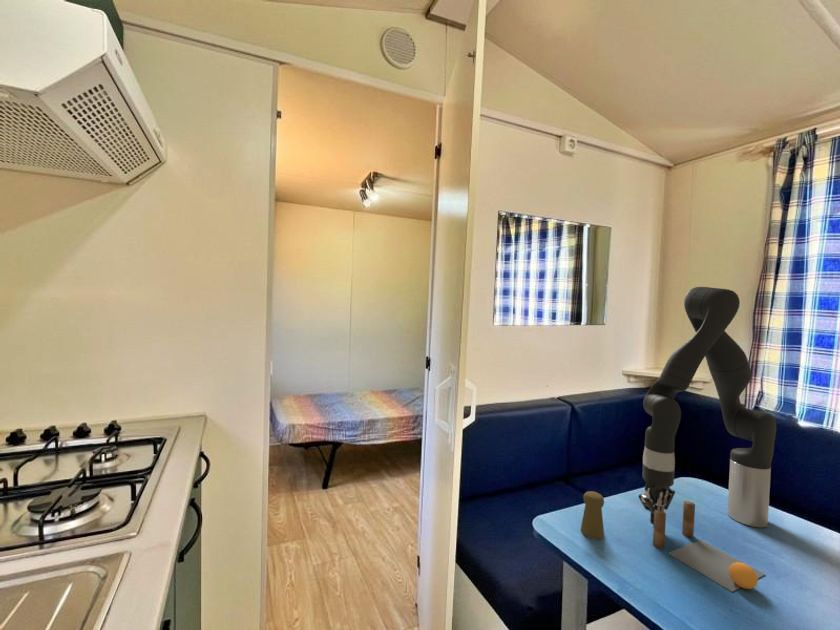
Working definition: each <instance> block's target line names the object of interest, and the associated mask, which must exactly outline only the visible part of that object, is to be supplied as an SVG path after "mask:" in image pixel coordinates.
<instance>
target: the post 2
mask: <svg viewBox="0 0 840 630" xmlns="http://www.w3.org/2000/svg"><path fill="white" fill-rule="evenodd" d="M682 505H683V507H682V509H683V510H682V526H681V527H682V528H681V534H682V535H683V536H684V537H687V538H689V539H693V538H694V535H695V534H694V532H695V517H696V516H695V514H696V513H695V512H696V511H695V510H696V504H695V503H694V502H692V501H690V500H683V504H682Z"/></svg>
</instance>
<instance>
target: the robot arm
mask: <svg viewBox="0 0 840 630" xmlns="http://www.w3.org/2000/svg"><path fill="white" fill-rule="evenodd" d="M683 301H684V304H683V305H684V310H685V313H686V315H687V318H688V319H689V321H690V324H691V325H692V327H693V330H694V331H695V334H693V336H691V337H690V338H689V339H688V340H686V342H684V343H683V344H681V345H680V346H679V347H677V348H676V349H675V350H674V351H673V352H672V353H671V354H670V356H669V358H668V359H667V362H666V363H665V365H664V367H663V368H662V371H661V374H660V376H659V377H658V378H657V379H656V381H655V382H654V383H653V384H652V385H651V386H650V388H649V389H648V391H647V392H646V393H645V395H644V397H643V401H642V406H643V409H644V411H645V412H646V413H647V414H648V415H650V416H651V417H652V421H651V426H648V427H647V428H646V429H645V434H644V435H645V436H644V449H643V453H642V454H643V455H642V474H641V475H642V476H641V477H642V478H643V480H644V481H645V486H644V493H643V494H641V493H640V494H639V495H638V499H639V501H640V502H641V504H642V506H643V509H644V510H646V511H647V512H650V518H649V519H650V520H649V521H650V524H651V525H653V526H654V510H661V511H663V512H665V510H666V511H667V510H668V509H669V507H670V504H671V502H672V500H673V498H674V496H675V494H676V490H674V489H672V488H670V487H672V486H674V482H675V467H676V466H675V464H676V461H675V460H676V458H675V443H676V441H675V437H676V434H677V432H678V429H679V425H680V422H681V419H682V409H681V407H680V405H679V403H678V402H677V401H676V400H675V399H674V398H675V397H676V396H677V395H678V393H681V392H686V391H687V390H688V388H689V386H690V385H691V383H692V380H693V379H694V377H695V375H696V373H697V371H698V369H699V367H700V364H701V363H702V362H703V360H704V359H705V360H706V363H707V367H708V370H709V373H710V376H711V378H712V381H713V383H714V387H715V389H716V393H717V395H718V399H719V403H720V408H721V413H722V418H723V423H724V425H725V428H726V430H727V432H728V433H729V434H730V435H731V436H734V437H736V438H740V439H744V440H747V441H750V442H752V445H751V447H737V448H732V449H731V450H730V453H729V455H730V456H729V474H728V475H729V476H728V478H729V479H728V495H727V497H728V499H727V515H728V516H729V517H730V518H731V519H733V520H734V521H736V522H739V523H740V524H743V525H745V526H749V527H753V528H766V527H768V525H769V509H770V507H769V506H770V505H769V504H770V492H771V491H770V489H771V472H772V470H771V469H772V461H773V457H774V452H775V451H774V450H775V441H776V434H777V422H776V419H775V417H774V416H773V415H772V414H770V413H768V412H764V411H759V410H756V409H751V408H746V407H744V406H743V405H742V403H741V399H740V397H741V394H742V393H743V392H744V390H746V388H747V387H748V386H749V383H750V382H751V381H752V374H753V373H752V370H751V366H750V364H749V360H748V357H747V355H746V353H745V351H744V350H743V349H742V348H741V346H740V345H739V344H738V343H737V342H736V341H735V340H734V339H733V338H732V337H731V336H730V335H729V334H728V333H727V331H726V329H727V328H728V326H729V325H730V324H731V323H732V321H733V320H734V318H735V317H736V315H737V313H738V311H739V308H740V305H741V303H740V297H739V295H738V294H737V293H736V291H734V290H731V289H728V288H719V287H711V286H710V287H709V286H696V287H692V288H691V289H689V290H688V291H687V292H686V294H685V297H684V300H683Z"/></svg>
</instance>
